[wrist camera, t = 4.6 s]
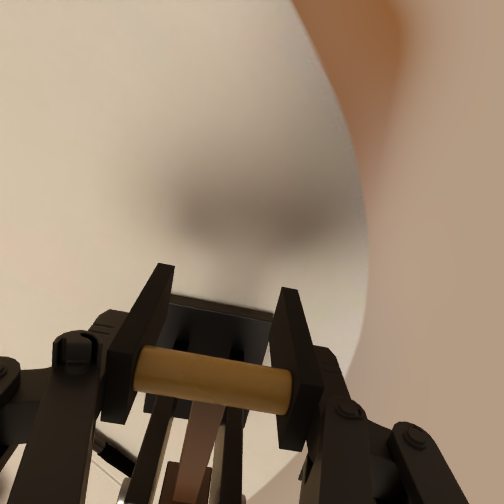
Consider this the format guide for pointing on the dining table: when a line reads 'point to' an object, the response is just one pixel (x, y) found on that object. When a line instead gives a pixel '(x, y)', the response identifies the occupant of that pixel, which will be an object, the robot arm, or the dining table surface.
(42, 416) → the robot arm
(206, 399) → the lever
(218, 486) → the switch bracket
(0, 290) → the dining table surface
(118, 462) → the pen
